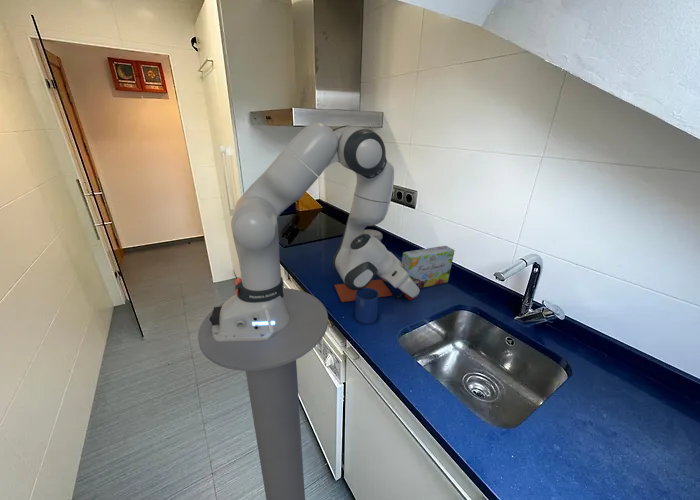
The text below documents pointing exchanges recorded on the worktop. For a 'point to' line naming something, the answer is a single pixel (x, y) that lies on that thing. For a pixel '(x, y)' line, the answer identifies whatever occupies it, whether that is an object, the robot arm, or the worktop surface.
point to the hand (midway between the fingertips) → (409, 287)
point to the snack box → (428, 265)
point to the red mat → (378, 285)
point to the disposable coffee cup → (374, 234)
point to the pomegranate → (408, 295)
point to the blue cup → (366, 305)
